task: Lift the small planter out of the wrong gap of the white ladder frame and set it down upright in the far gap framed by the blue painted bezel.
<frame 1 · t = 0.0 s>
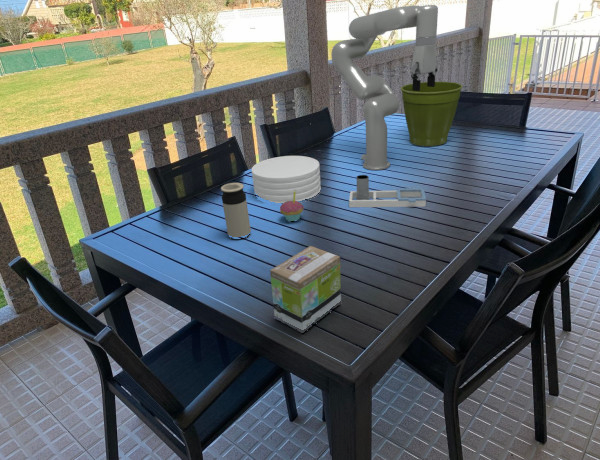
hand: (423, 88, 175), 37 cm above the table, tool pointing down, fingers open, 9 cm apart
tea box: (309, 313, 112), on the table
plate stack: (287, 192, 187), on the table
travel mug: (239, 235, 154), on the table
cupcake: (292, 220, 162), on the table
white ladder frame: (386, 201, 170), on the table
plant pot: (428, 142, 236), on the table
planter: (362, 202, 171), resting in white ladder frame
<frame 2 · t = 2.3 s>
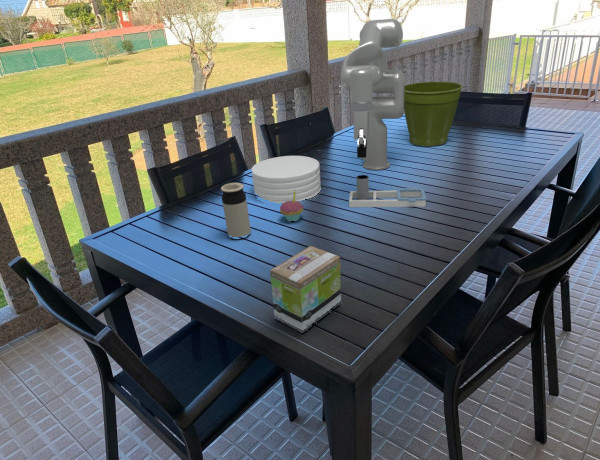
hand: (362, 153, 162), 19 cm above the table, tool pointing down, fingers open, 9 cm apart
nothing on the table moved.
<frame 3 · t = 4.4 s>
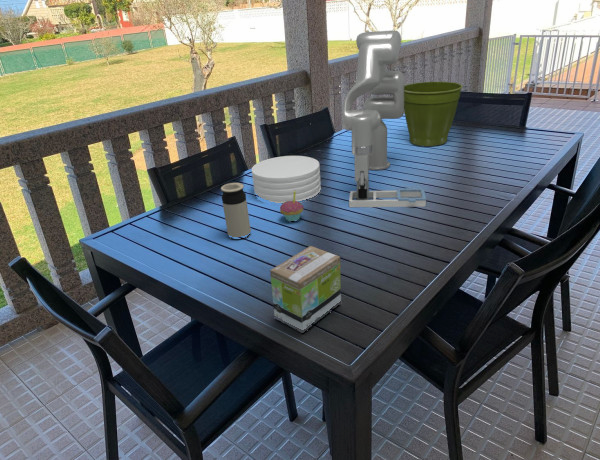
hand: (362, 195, 170), 3 cm above the table, tool pointing down, fingers closed on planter, 4 cm apart
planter: (362, 202, 171), resting in white ladder frame, touching gripper
everything else where it was.
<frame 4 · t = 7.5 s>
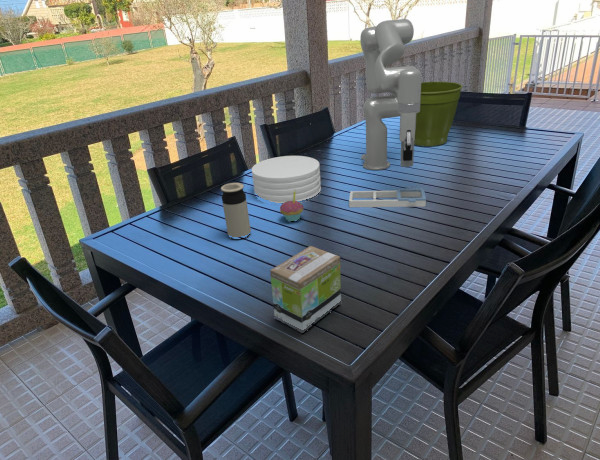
hand: (407, 157, 161), 17 cm above the table, tool pointing down, fingers closed on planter, 4 cm apart
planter: (406, 165, 162), point 14 cm above the table, touching gripper
everything else where it was.
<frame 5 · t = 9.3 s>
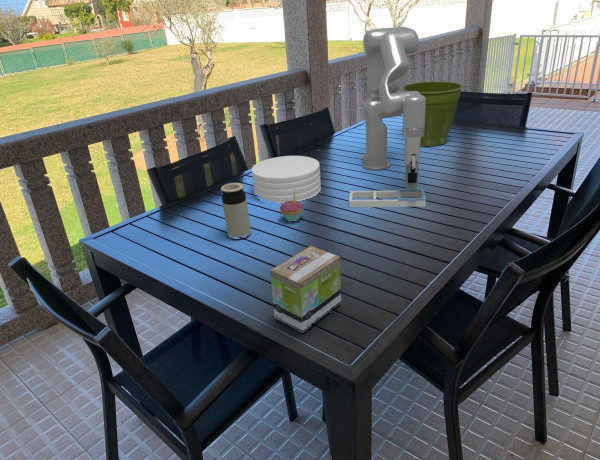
hand: (411, 179, 164), 9 cm above the table, tool pointing down, fingers closed on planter, 4 cm apart
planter: (411, 187, 166), point 6 cm above the table, touching gripper
everything else where it was.
when the fingers open (4 cm above the table, at t = 10.9 s): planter drops 1 cm, resting in white ladder frame.
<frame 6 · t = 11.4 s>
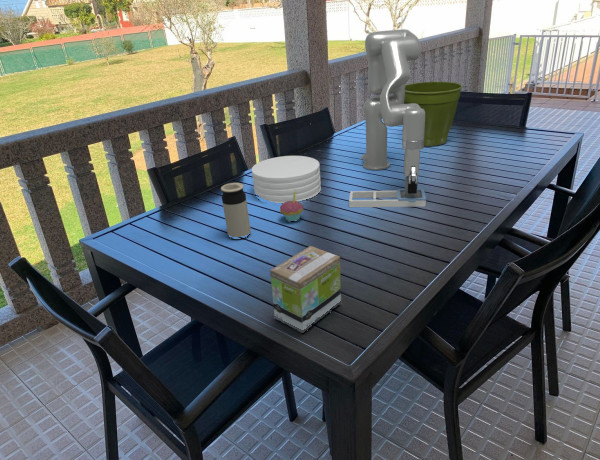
hand: (411, 188, 166), 5 cm above the table, tool pointing down, fingers open, 9 cm apart
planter: (410, 201, 169), resting in white ladder frame
everything else where it was.
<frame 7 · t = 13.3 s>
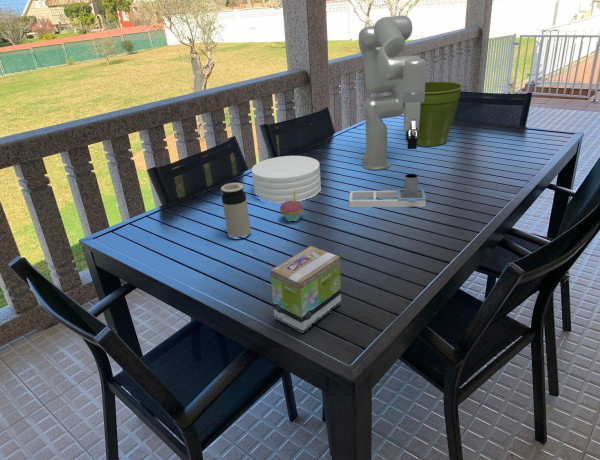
hand: (411, 144, 162), 21 cm above the table, tool pointing down, fingers open, 9 cm apart
nothing on the table moved.
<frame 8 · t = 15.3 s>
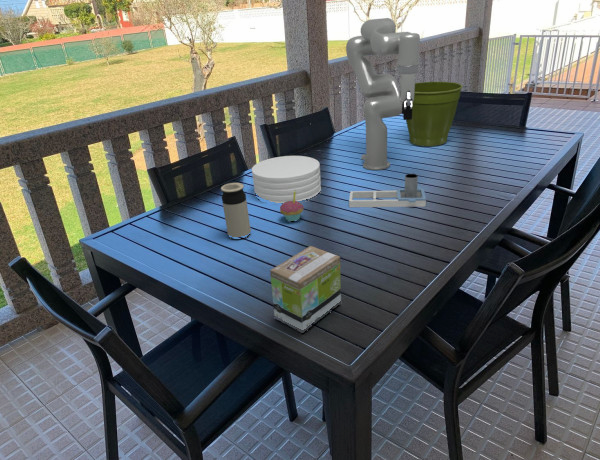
hand: (406, 116, 171), 28 cm above the table, tool pointing down, fingers open, 9 cm apart
nothing on the table moved.
at the end: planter 0.2 cm from the target spot on the white ladder frame, point 0.0 cm above the white ladder frame's base; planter tilted 0°; the gripper is holding nothing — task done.
